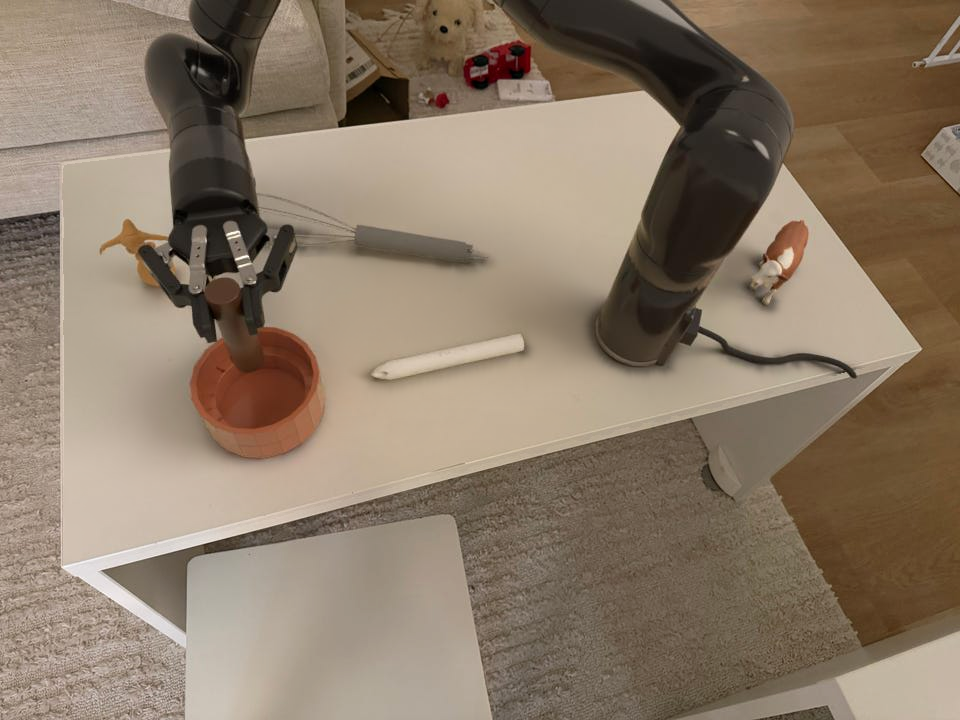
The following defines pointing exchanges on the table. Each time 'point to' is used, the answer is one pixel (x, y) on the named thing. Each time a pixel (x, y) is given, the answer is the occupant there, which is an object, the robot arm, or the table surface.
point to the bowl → (260, 396)
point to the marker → (449, 357)
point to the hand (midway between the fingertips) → (231, 332)
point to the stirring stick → (234, 324)
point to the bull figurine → (781, 258)
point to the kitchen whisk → (392, 240)
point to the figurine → (136, 247)
